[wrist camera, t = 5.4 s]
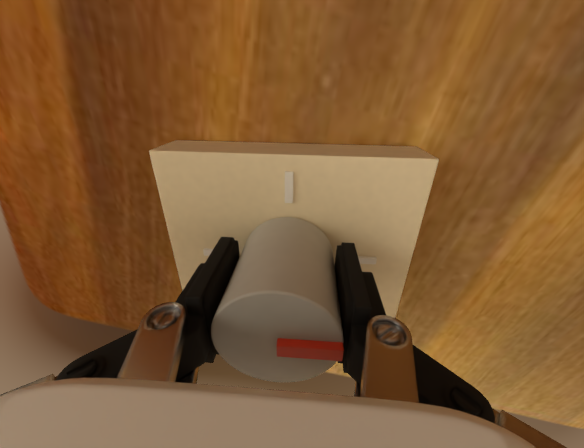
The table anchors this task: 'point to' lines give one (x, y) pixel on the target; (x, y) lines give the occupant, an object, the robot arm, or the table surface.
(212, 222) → the panel
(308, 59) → the table surface
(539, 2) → the table surface
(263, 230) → the knob
